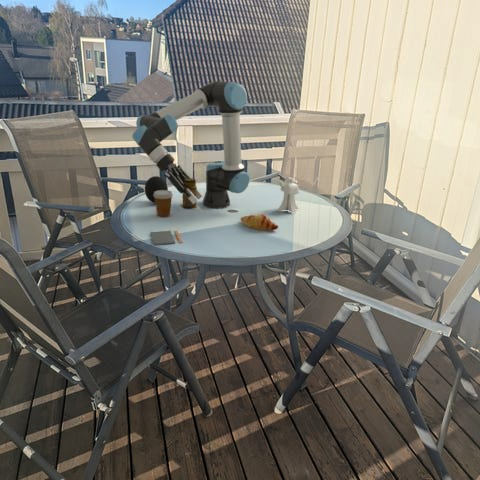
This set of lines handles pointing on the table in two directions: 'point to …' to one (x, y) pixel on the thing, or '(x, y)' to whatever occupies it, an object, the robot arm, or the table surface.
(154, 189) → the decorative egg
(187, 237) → the table surface
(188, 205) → the condiment
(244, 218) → the croissant
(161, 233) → the mat
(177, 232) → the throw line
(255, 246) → the table surface
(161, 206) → the disposable coffee cup
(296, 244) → the table surface
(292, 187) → the white mech figurine
